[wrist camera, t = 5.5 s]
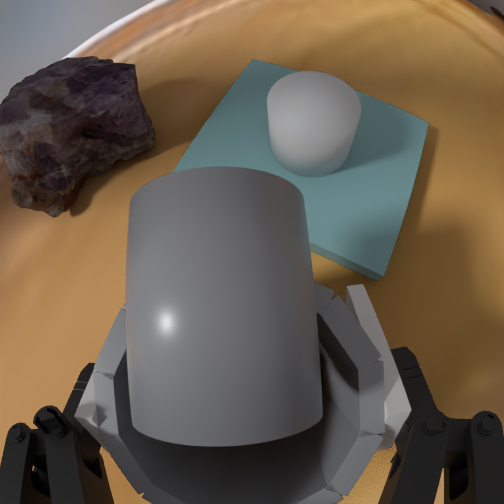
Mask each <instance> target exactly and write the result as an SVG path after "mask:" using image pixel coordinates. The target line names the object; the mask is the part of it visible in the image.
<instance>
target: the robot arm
mask: <svg viewBox="0 0 504 504" xmlns="http://www.w3.org/2000/svg"><path fill="white" fill-rule="evenodd" d="M345 304H346V305H347V306H348V308H349V309H350V311H351V312H352V314H353V315H354V316H355V318H356V319H357V321H358V322H359V324H360V325H361V327H362V328H363V329H364V331H365V332H366V334H367V335H368V337H369V338H370V340H371V341H372V343H373V344H374V346H375V347H376V349H377V350H378V351H379V353H380V354H381V357H380V358H379V359H378V360H380V361H383V364H384V386H385V401H384V405H385V432H384V433H380V434H381V435H382V436H383V437H384V438H383V440H382V441H381V443H380V445H379V447H378V448H377V450H376V451H378V450H383V449H387V448H391V447H392V446H393V444H394V442H395V443H396V447H397V452H396V453H395V455H394V457H393V458H392V460H391V462H390V463H392V466H391V469H390V472H389V475H388V478H387V481H386V484H385V486H384V489H383V492H382V495H381V497H380V500H379V502H378V504H434V500H435V497H436V493H437V489H438V485H439V481H440V477H441V473H442V468H444V504H504V435H503V429H502V424H501V421H500V419H499V418H498V417H497V415H496V414H494V413H492V412H490V411H482V412H479V413H477V414H476V415H475V416H474V417H473V418H472V419H453V418H449V417H447V416H445V415H444V414H443V413H442V412H440V411H439V410H438V409H437V407H436V405H435V403H434V400H433V398H432V395H431V393H430V390H429V388H428V385H427V383H426V380H425V378H424V376H423V373H422V371H421V368H419V364H418V361H417V359H416V357H415V355H414V354H413V353H412V352H411V351H410V350H409V349H408V348H407V347H402V348H396V349H390V348H389V346H388V343H387V341H386V338H385V335H384V333H383V330H382V328H381V325H380V323H379V320H378V318H377V316H376V313H375V311H374V308H373V306H372V304H371V301H370V299H369V296H368V294H367V292H366V289H365V287H364V285H363V284H360V285H351V286H347V289H346V302H345ZM123 309H126V308H125V306H124V307H123ZM94 365H95V363H88V365H87V366H86V367H85V368H84V369H83V370H82V371H81V373H80V375H79V377H78V379H77V382H76V384H75V386H74V390H72V393H71V395H70V397H69V399H68V402H67V404H66V406H65V409H64V411H63V413H61V411H60V410H59V409H58V408H57V407H55V406H52V405H51V406H45V407H43V408H41V409H40V410H39V411H38V412H37V413H36V415H35V416H34V420H33V423H34V424H35V425H36V426H37V427H38V428H39V429H30V428H29V427H28V426H27V425H26V424H25V423H16V424H15V425H13V426H12V427H11V428H10V429H9V431H8V434H7V438H6V442H5V446H4V451H3V456H2V461H1V466H0V504H114V501H113V497H112V493H111V490H110V486H109V482H108V478H107V474H106V470H105V466H104V461H103V458H102V456H101V454H100V453H99V451H100V448H101V446H102V447H103V448H104V449H105V450H106V451H107V452H108V450H107V449H106V447H105V446H104V444H103V443H102V441H101V440H102V439H104V438H106V437H103V436H99V430H98V428H99V427H98V419H97V410H96V404H95V393H94V381H93V372H95V371H98V370H96V369H95V368H94ZM33 466H34V470H33V471H32V468H33Z"/></svg>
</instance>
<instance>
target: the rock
mask: <svg viewBox="0 0 504 504" xmlns="http://www.w3.org/2000/svg"><path fill="white" fill-rule="evenodd" d="M155 143H156V139H155V131H154V128H153V127H152V121H151V120H150V118H149V116H148V115H147V113H146V109H145V107H144V105H143V102H142V101H141V98H140V96H139V92H138V84H137V77H136V69H135V65H134V64H125V63H113V60H111V59H106V60H102V59H98V58H97V57H94V56H89V57H80V58H68V57H67V58H65V59H63V60H60V61H58V62H55V63H53V64H51V65H49V66H48V67H46V68H43V69H40V70H39V71H37V72H36V73H35V74H34V75H31V76H28V77H25V78H24V79H23V80H22V82H19V83H17V84H16V85H14V86H13V87H12V88H11V89H10V92H9V95H8V96H7V97H6V98H5V99H4V100H3V101H2V103H1V104H0V151H1V154H2V156H3V158H4V160H5V162H6V164H7V171H8V174H9V176H10V177H11V180H12V185H13V187H12V189H11V198H12V200H13V202H14V204H16V205H18V206H19V207H21V208H28V209H32V210H36V211H43V212H46V213H47V214H49V215H50V216H52V217H57V216H59V215H60V214H61V213H63V212H65V211H68V209H69V207H70V205H71V204H72V203H73V202H74V200H75V198H76V196H77V191H78V188H79V187H82V185H83V182H84V180H85V178H86V176H93V175H96V174H100V173H104V172H106V171H107V170H109V169H110V168H111V166H112V165H113V163H114V161H116V160H118V159H124V160H128V159H130V158H132V157H133V156H135V155H136V154H138V153H139V152H142V151H146V150H149V149H150V148H151V147H152V146H153V145H154V144H155Z"/></svg>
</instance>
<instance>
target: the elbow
mask: <svg viewBox="0 0 504 504" xmlns="http://www.w3.org/2000/svg"><path fill="white" fill-rule="evenodd" d="M334 292H335V291H334V290H331V289H329V288H327V287H325V286H323V285H321V284H318V283H316V282H314V281H313V272H312V262H311V253H310V244H309V235H308V227H307V219H306V211H305V203H304V197H303V194H302V193H301V191H300V190H299V189H298V188H297V187H296V186H295V185H294V184H293V183H291V182H289V181H288V180H286V179H284V178H282V177H280V176H277V175H274V174H271V173H268V172H265V171H260V170H256V169H250V168H242V167H229V166H215V167H200V168H192V169H187V170H181V171H177V172H173V173H170V174H167V175H164V176H161V177H158V178H156V179H154V180H152V181H150V182H148V183H147V184H145V185H144V186H142V187H141V188H140V189H139V190H137V191H136V192H135V194H134V195H133V197H132V198H131V201H130V208H129V222H128V237H127V258H126V303H125V304H124V306H125V308H126V309H122V308H121V309H120V311H119V313H118V315H117V317H116V319H115V321H114V323H113V326H112V328H111V330H110V332H109V334H108V336H107V338H106V341H105V343H104V345H103V347H102V349H101V352H100V354H99V356H98V358H97V361H96V363H95V365H94V368H95V369H96V370H98V371H95V372H93V381H94V393H95V404H96V410H97V419H98V427H99V428H98V430H99V436H103V437H106V438H104V439H102V440H101V441H102V443H103V444H104V446H105V447H106V449H107V450H108V452H109V454H110V455H111V457H112V458H113V460H114V461H115V463H116V464H117V466H118V467H119V468H120V470H121V471H122V473H123V474H124V476H125V477H126V478H127V480H128V481H129V483H130V484H131V485H132V487H133V488H134V489H135V491H136V492H137V493H138V494H141V493H144V494H143V496H142V498H144V499H145V500H147V501H149V502H150V503H152V504H336V503H338V502H340V501H342V500H343V497H342V495H345V496H348V494H349V493H350V491H351V490H352V488H353V487H354V485H355V484H356V482H357V481H358V479H359V478H360V476H361V475H362V473H363V471H364V470H365V468H366V467H367V465H368V463H369V462H370V460H371V458H372V457H373V455H374V453H375V452H376V450H377V448H378V447H379V445H380V443H381V441H382V440H383V438H384V437H383V436H382V435H381V434H380V433H384V432H385V405H384V401H385V386H384V364H383V361H380V360H378V359H379V358H380V357H381V354H380V353H379V351H378V350H377V349H376V347H375V346H374V344H373V343H372V341H371V340H370V338H369V337H368V335H367V334H366V332H365V331H364V329H363V328H362V327H361V325H360V324H359V322H358V321H357V319H356V318H355V316H354V315H353V314H352V312H351V311H350V309H349V308H348V306H347V305H346V304H345V302H344V301H343V299H342V298H341V297H340V295H338V296H336V297H335V298H334V299H332V297H333V295H334ZM331 299H332V300H331ZM319 352H320V353H321V357H322V373H323V391H322V387H321V369H320V354H319Z"/></svg>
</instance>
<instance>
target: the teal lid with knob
mask: <svg viewBox="0 0 504 504" xmlns="http://www.w3.org/2000/svg"><path fill="white" fill-rule="evenodd" d="M428 124H429V123H428V122H426V121H424V120H422V119H420V118H418V117H416V116H414V115H412V114H410V113H408V112H406V111H403V110H401V109H399V108H397V107H395V106H392V105H390V104H388V103H385V102H383V101H381V100H378V99H376V98H373V97H371V96H368V95H366V94H363V93H361V92H358V91H356V90H353V89H352V88H351V87H350V86H349V85H348V84H347V83H346V82H344V81H343V80H341V79H339V78H337V77H335V76H333V75H330V74H327V73H323V72H318V71H301V72H300V71H296V70H293V69H289V68H286V67H282V66H279V65H275V64H271V63H267V62H263V61H259V60H255V59H252V61H251V62H250V63H249V64H248V66H247V67H246V68H245V69H244V71H243V72H242V73H241V75H240V76H239V77H238V79H237V80H236V81H235V83H234V84H233V85H232V87H231V88H230V89H229V91H228V92H227V93H226V95H225V96H224V97H223V99H222V100H221V101H220V103H219V104H218V106H217V107H216V108H215V110H214V111H213V113H212V114H211V115H210V117H209V118H208V120H207V121H206V123H205V124H204V125H203V127H202V128H201V130H200V131H199V133H198V134H197V136H196V137H195V139H194V140H193V142H192V143H191V145H190V146H189V148H188V149H187V151H186V152H185V154H184V155H183V157H182V158H181V160H180V161H179V163H178V165H177V166H176V168H175V169H174V171H173V172H177V171H181V170H187V169H192V168H200V167H215V166H229V167H242V168H250V169H256V170H260V171H265V172H268V173H271V174H274V175H277V176H280V177H282V178H284V179H286V180H288V181H289V182H291V183H293V184H294V185H295V186H296V187H297V188H298V189H299V190H300V191H301V193H302V194H303V197H304V203H305V211H306V219H307V227H308V235H309V244H310V251H312V252H315V253H317V254H319V255H321V256H323V257H326V258H328V259H330V260H332V261H334V262H336V263H339V264H341V265H343V266H345V267H347V268H349V269H352V270H354V271H356V272H358V273H360V274H362V275H365V276H367V277H369V278H371V279H373V280H375V281H377V280H379V279H380V278H382V277H383V276H384V274H385V271H386V269H387V266H388V263H389V260H390V258H391V255H392V252H393V249H394V246H395V243H396V240H397V237H398V234H399V231H400V228H401V225H402V222H403V219H404V216H405V212H406V209H407V206H408V203H409V199H410V196H411V192H412V189H413V185H414V181H415V178H416V174H417V170H418V166H419V163H420V159H421V155H422V150H423V146H424V142H425V137H426V133H427V128H428ZM173 172H172V173H173Z"/></svg>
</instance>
